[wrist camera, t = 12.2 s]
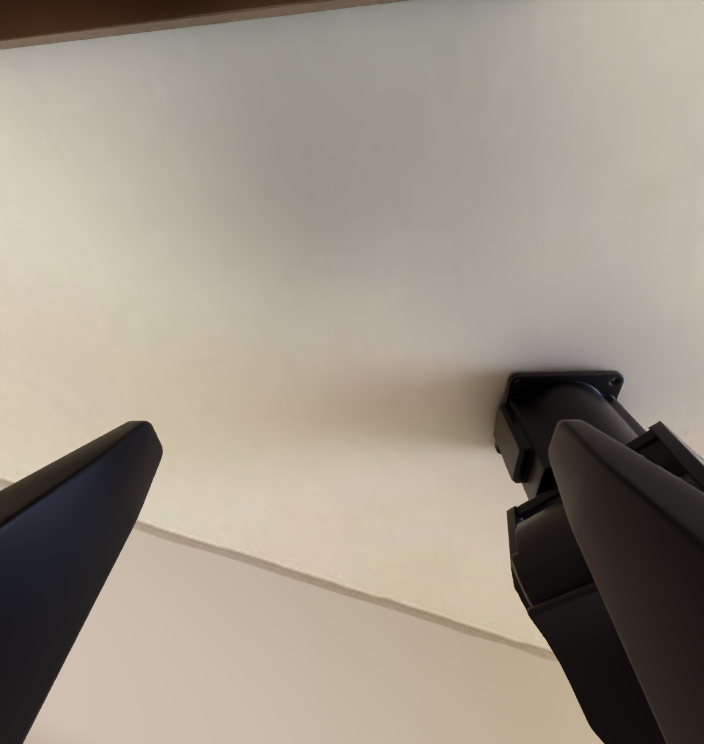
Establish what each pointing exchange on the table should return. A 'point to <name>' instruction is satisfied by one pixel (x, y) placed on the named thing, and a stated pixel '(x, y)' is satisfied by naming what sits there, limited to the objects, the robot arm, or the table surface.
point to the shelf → (136, 16)
